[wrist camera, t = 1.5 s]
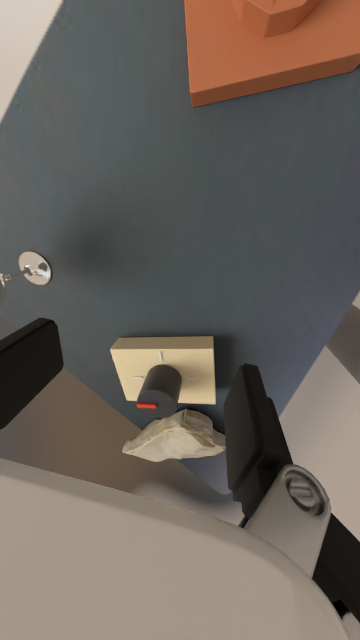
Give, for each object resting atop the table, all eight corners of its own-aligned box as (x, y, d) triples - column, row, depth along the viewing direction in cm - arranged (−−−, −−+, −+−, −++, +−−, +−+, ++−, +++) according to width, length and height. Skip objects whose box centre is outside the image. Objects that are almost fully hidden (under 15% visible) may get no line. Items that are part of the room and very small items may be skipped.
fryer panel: (213, 335, 27) (213, 349, 24) (215, 388, 31) (215, 405, 29) (118, 337, 29) (109, 350, 27) (133, 386, 34) (126, 401, 31)
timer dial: (180, 364, 26) (173, 392, 22) (183, 391, 28) (178, 421, 24) (144, 364, 27) (131, 391, 23) (150, 390, 29) (140, 419, 25)
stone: (130, 452, 42) (121, 477, 37) (110, 408, 38) (97, 431, 33) (229, 445, 38) (233, 473, 33) (218, 395, 34) (221, 419, 29)
